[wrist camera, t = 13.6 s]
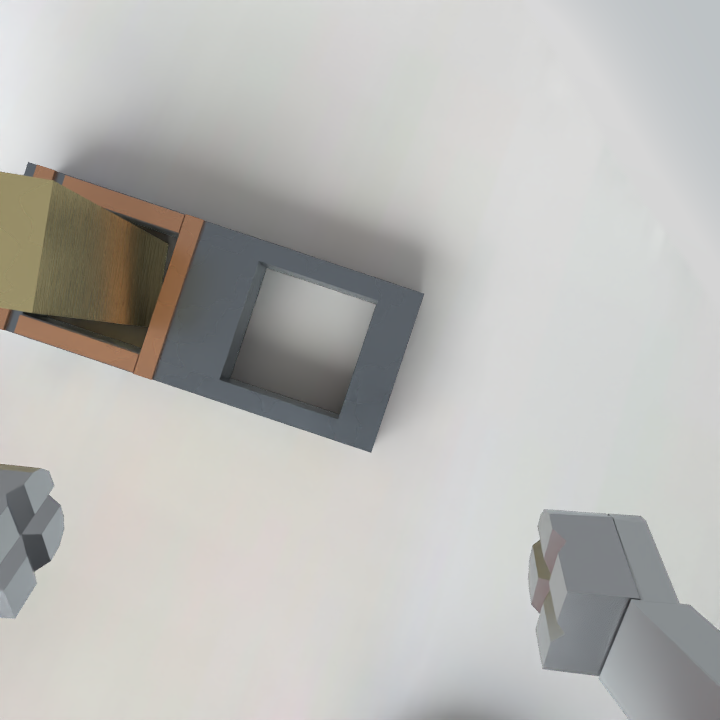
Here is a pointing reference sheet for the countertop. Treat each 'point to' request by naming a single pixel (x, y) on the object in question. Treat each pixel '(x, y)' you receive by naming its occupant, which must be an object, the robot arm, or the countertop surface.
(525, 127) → the countertop surface
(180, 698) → the countertop surface
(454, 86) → the countertop surface
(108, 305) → the brass block
